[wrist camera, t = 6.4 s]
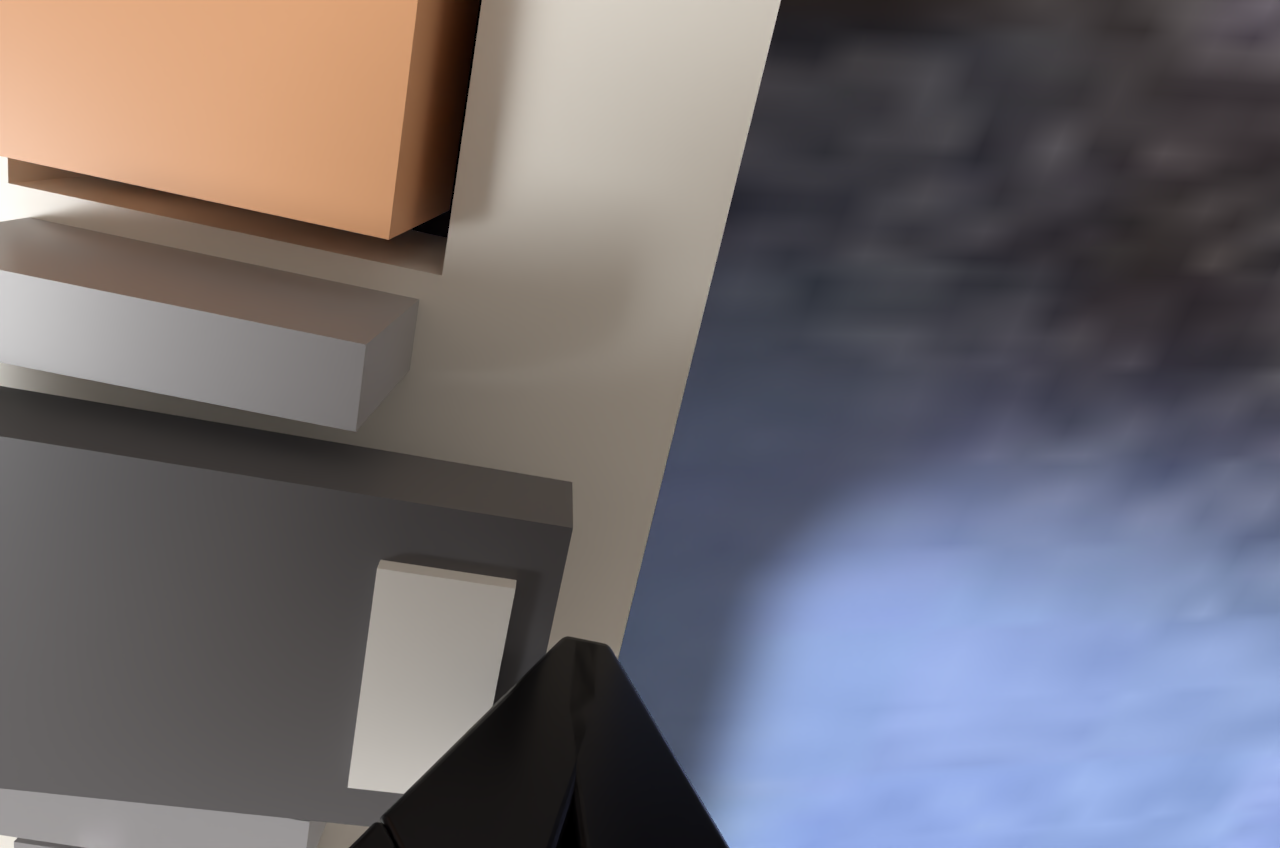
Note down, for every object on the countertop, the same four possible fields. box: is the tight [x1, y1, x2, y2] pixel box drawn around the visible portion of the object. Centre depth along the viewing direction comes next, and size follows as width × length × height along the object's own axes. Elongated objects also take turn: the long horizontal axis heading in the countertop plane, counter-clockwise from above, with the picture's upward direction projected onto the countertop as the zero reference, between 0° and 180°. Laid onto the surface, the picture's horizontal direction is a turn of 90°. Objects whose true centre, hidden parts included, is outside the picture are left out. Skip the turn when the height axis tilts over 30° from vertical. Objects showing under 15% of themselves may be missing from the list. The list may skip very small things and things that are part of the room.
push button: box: [0, 0, 480, 240], centre depth 9 cm, size 4×4×3 cm
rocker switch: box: [0, 386, 573, 827], centre depth 8 cm, size 8×4×1 cm, turn 78°
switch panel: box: [0, 0, 781, 848], centre depth 10 cm, size 10×18×4 cm, turn 168°
